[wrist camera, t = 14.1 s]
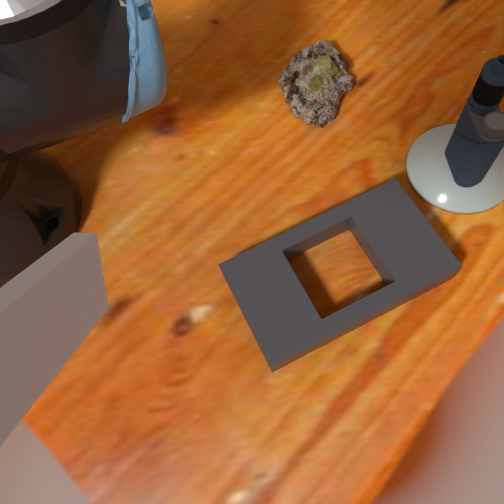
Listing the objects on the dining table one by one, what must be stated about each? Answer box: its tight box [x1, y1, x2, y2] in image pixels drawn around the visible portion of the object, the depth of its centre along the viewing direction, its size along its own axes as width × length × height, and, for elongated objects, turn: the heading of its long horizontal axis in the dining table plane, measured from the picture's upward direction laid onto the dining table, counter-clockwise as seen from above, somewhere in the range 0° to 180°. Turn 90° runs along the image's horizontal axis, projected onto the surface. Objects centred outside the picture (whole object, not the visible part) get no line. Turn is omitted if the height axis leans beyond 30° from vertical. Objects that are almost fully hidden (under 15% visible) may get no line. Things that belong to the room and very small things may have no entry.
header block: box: [219, 178, 463, 372], centre depth 42 cm, size 10×18×2 cm, turn 116°
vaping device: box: [445, 55, 504, 188], centre depth 40 cm, size 3×5×12 cm, turn 7°
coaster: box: [406, 124, 504, 214], centre depth 46 cm, size 10×10×1 cm
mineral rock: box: [278, 40, 354, 128], centre depth 51 cm, size 11×4×8 cm
